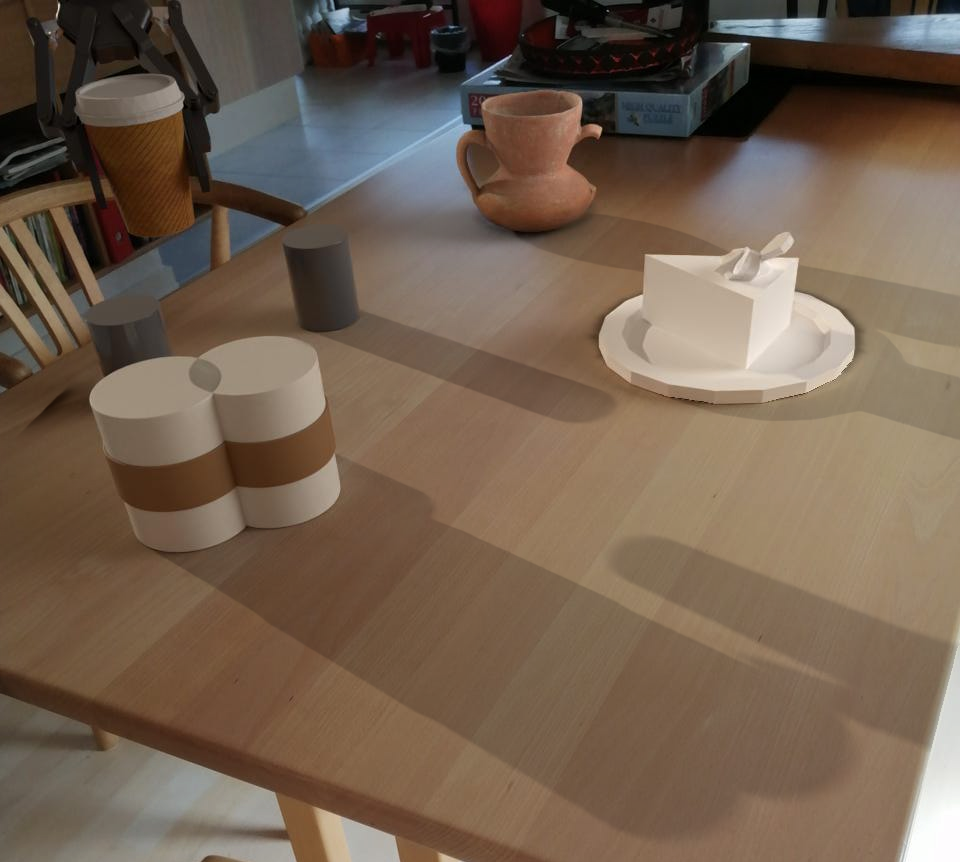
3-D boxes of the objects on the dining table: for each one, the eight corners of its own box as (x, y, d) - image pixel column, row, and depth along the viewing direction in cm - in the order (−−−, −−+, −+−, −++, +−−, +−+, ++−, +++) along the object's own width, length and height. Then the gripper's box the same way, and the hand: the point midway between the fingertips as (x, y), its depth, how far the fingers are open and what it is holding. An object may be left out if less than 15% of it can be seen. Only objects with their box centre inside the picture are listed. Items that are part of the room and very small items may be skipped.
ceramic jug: (602, 200, 138) (603, 82, 129) (599, 240, 127) (600, 115, 118) (468, 204, 140) (460, 88, 131) (454, 244, 129) (444, 121, 120)
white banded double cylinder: (109, 549, 84) (61, 417, 76) (181, 456, 94) (145, 331, 86) (306, 563, 80) (276, 426, 73) (357, 465, 91) (336, 336, 83)
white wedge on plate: (887, 319, 106) (910, 205, 99) (794, 428, 91) (814, 304, 84) (668, 277, 117) (675, 173, 110) (554, 369, 102) (552, 255, 95)
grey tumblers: (99, 398, 104) (70, 312, 98) (333, 299, 119) (321, 219, 113) (135, 420, 100) (107, 332, 94) (373, 315, 115) (361, 233, 109)
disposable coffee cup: (92, 228, 99) (51, 90, 91) (180, 201, 103) (148, 67, 95) (140, 252, 93) (100, 107, 85) (230, 222, 98) (200, 82, 90)
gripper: (208, -25, 100) (270, 195, 99) (-22, 4, 96) (40, 234, 95) (203, -86, 93) (270, 150, 92) (-47, -58, 88) (21, 191, 87)
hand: (153, 192), depth 93 cm, fingers closed on disposable coffee cup, 9 cm apart
